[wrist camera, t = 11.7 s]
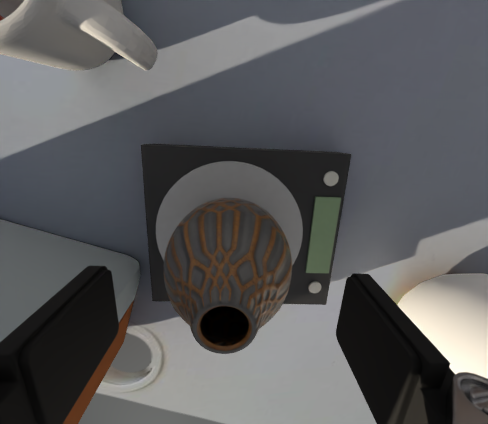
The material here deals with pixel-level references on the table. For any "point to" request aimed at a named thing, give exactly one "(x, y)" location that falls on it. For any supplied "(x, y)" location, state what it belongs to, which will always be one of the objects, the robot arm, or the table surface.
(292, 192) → the scale
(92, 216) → the table surface
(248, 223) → the vase
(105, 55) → the cup
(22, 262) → the alarm clock
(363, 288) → the robot arm
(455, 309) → the cup
